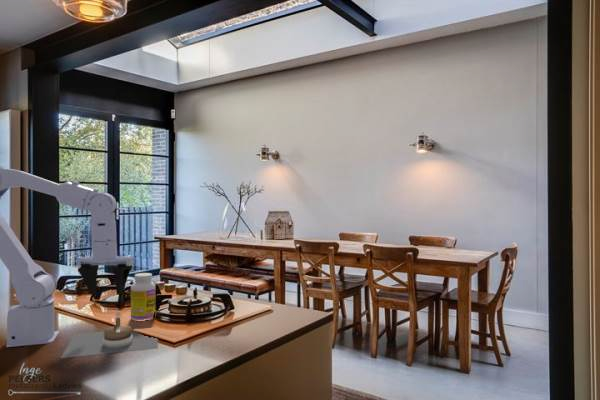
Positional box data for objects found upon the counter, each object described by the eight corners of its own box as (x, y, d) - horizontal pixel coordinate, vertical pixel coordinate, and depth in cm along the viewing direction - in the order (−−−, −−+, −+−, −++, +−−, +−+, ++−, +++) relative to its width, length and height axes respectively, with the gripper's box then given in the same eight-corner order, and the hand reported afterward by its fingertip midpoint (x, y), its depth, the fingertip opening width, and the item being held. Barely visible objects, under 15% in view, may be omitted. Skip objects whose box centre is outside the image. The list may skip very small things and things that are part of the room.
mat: (60, 359, 91) (60, 358, 91) (74, 335, 106) (74, 334, 106) (157, 349, 98) (157, 347, 98) (157, 327, 113) (157, 326, 113)
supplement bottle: (147, 323, 116) (147, 277, 116) (125, 321, 117) (125, 276, 117) (160, 316, 123) (160, 272, 122) (139, 314, 124) (139, 271, 124)
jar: (101, 349, 96) (101, 342, 96) (105, 339, 102) (105, 333, 102) (131, 346, 98) (131, 339, 98) (133, 337, 105) (133, 330, 104)
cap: (131, 338, 99) (131, 322, 99) (103, 342, 96) (103, 325, 96) (130, 323, 110) (130, 309, 109) (105, 326, 107) (105, 311, 107)
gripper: (139, 238, 109) (141, 289, 110) (88, 238, 111) (90, 289, 112) (124, 241, 102) (126, 297, 103) (69, 242, 104) (72, 296, 105)
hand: (106, 293), depth 107 cm, fingers open, 7 cm apart
